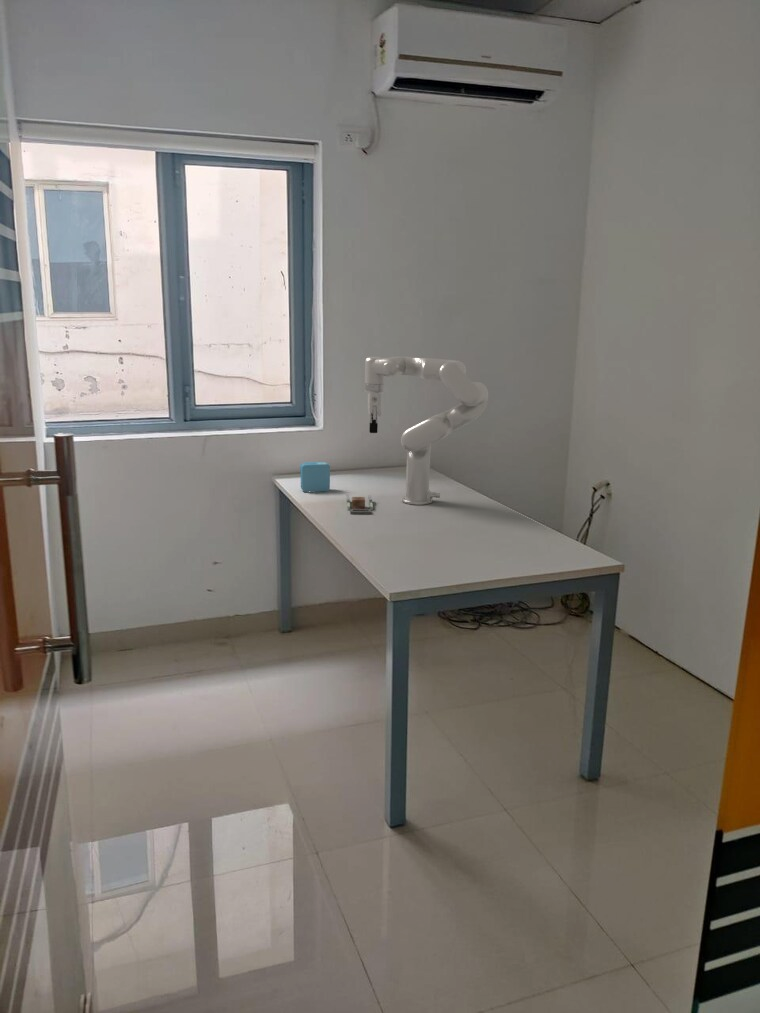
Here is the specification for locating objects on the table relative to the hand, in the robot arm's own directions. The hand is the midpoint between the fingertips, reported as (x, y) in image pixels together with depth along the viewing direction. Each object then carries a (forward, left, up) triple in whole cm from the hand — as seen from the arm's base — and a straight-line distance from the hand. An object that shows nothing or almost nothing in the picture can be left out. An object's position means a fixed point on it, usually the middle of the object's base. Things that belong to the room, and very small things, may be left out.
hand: (373, 432), depth 321 cm
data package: (+24, -10, -27) cm, 38 cm away
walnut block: (+7, +19, -27) cm, 34 cm away
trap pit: (+6, +26, -27) cm, 38 cm away
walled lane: (+6, +12, -27) cm, 30 cm away
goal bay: (+6, +19, -27) cm, 34 cm away
